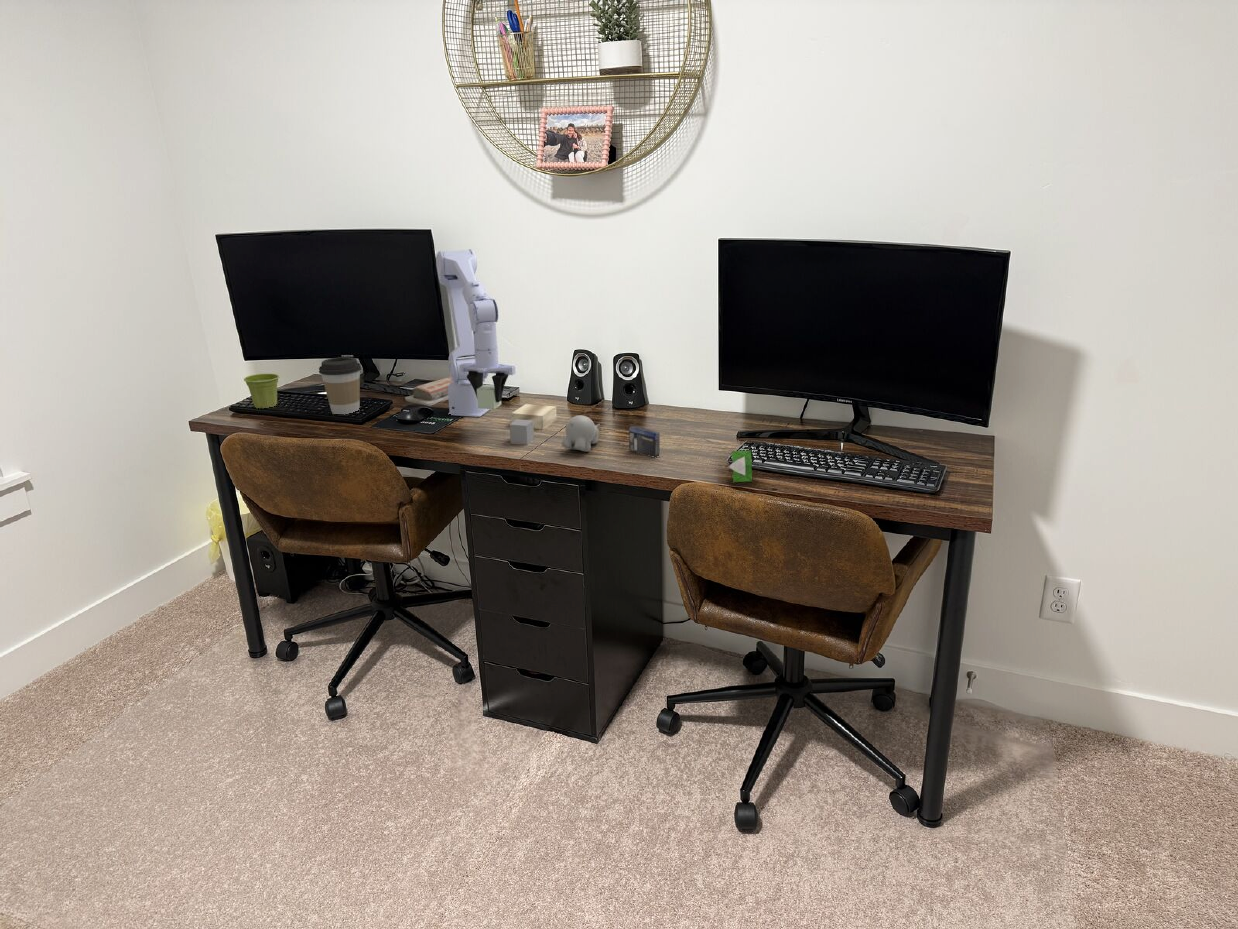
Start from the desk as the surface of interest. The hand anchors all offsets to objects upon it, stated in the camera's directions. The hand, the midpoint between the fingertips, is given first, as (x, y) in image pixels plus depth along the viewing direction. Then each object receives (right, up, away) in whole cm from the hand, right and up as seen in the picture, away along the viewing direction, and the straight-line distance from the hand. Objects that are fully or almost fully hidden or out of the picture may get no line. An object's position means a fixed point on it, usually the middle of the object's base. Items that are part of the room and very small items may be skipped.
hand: (489, 400), depth 219 cm
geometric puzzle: (+60, -20, -32) cm, 71 cm away
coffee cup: (-44, -2, +21) cm, 48 cm away
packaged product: (-21, +3, +36) cm, 42 cm away
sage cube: (0, -1, 0) cm, 2 cm away
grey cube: (+9, -11, -5) cm, 15 cm away
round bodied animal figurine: (+25, -13, -11) cm, 30 cm away
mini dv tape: (+39, -14, -15) cm, 44 cm away
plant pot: (-69, 0, +29) cm, 75 cm away
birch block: (+11, -6, +10) cm, 15 cm away
